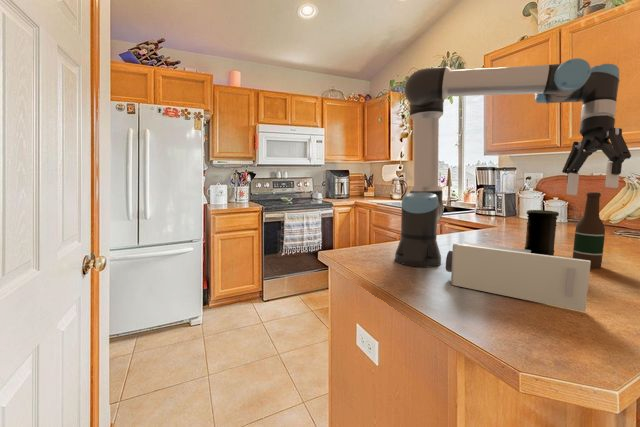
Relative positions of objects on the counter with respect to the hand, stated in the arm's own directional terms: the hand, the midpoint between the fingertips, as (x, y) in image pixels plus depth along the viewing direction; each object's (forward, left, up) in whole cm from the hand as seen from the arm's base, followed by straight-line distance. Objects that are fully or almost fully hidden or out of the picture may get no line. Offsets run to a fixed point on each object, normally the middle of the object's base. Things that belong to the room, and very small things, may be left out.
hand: (589, 191), depth 88 cm
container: (-10, +7, -25) cm, 28 cm away
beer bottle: (+4, +14, -25) cm, 29 cm away
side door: (-20, -29, -25) cm, 43 cm away
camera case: (-25, -22, -25) cm, 42 cm away
